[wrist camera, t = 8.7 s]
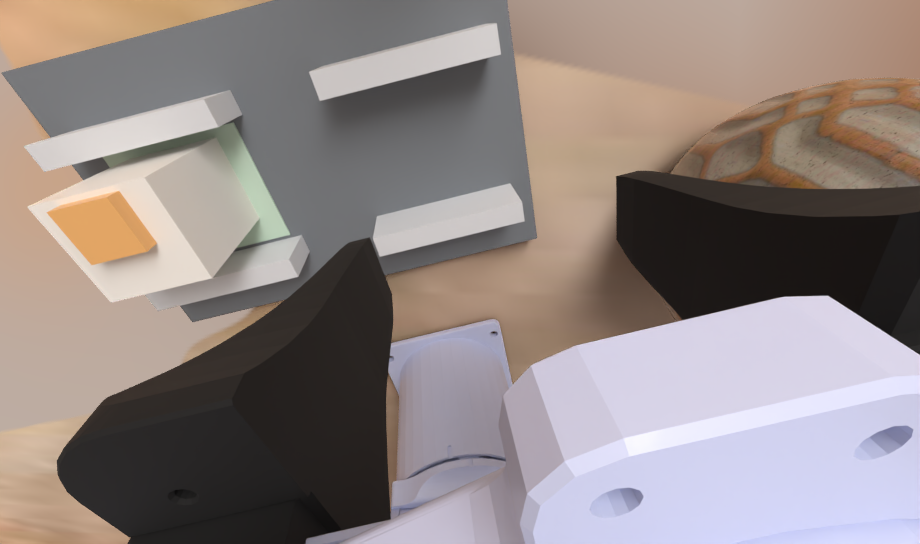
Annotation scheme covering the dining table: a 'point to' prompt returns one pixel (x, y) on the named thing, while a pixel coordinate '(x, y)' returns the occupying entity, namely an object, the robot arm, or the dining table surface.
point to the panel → (312, 131)
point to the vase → (817, 140)
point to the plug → (152, 220)
